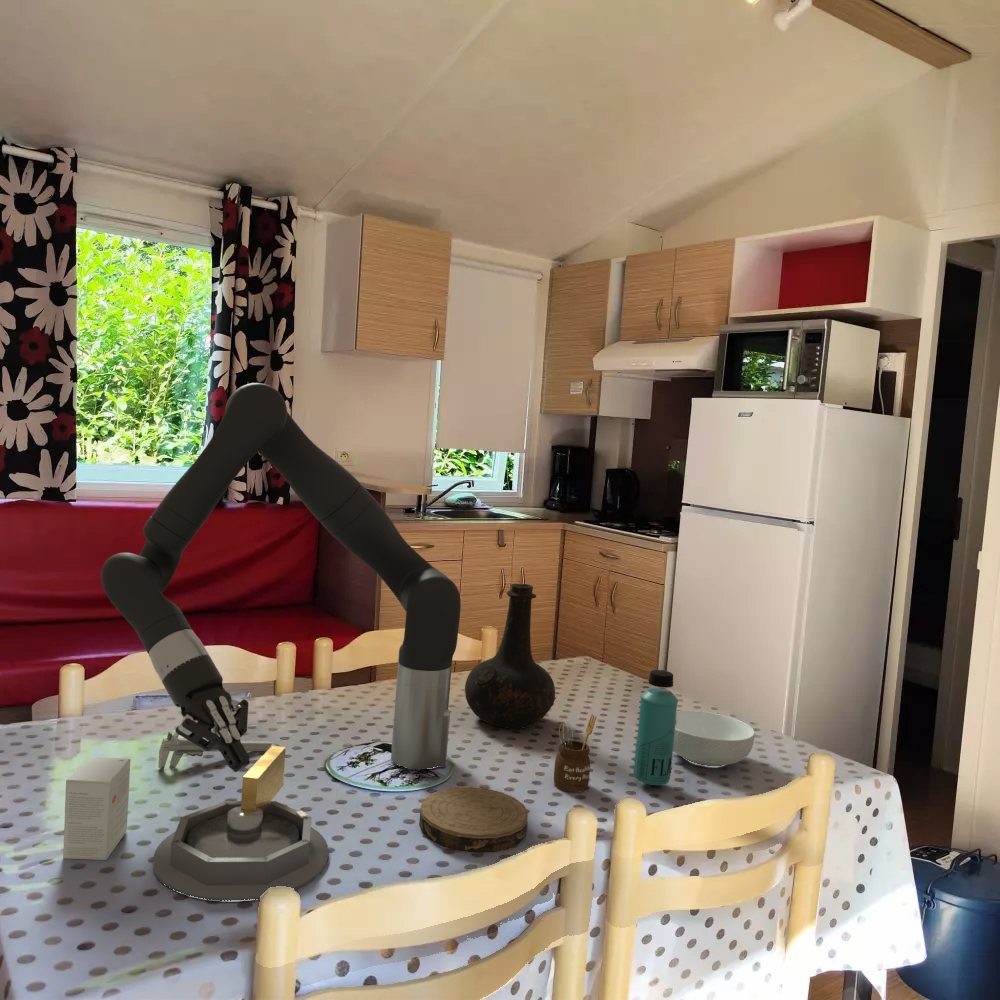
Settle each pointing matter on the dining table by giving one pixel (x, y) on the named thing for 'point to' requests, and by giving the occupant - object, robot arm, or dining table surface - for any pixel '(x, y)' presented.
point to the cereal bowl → (711, 738)
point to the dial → (249, 817)
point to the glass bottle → (512, 673)
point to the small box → (96, 808)
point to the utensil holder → (573, 762)
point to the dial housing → (239, 860)
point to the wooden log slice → (473, 820)
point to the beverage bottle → (656, 731)
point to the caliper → (196, 749)
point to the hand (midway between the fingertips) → (242, 767)
